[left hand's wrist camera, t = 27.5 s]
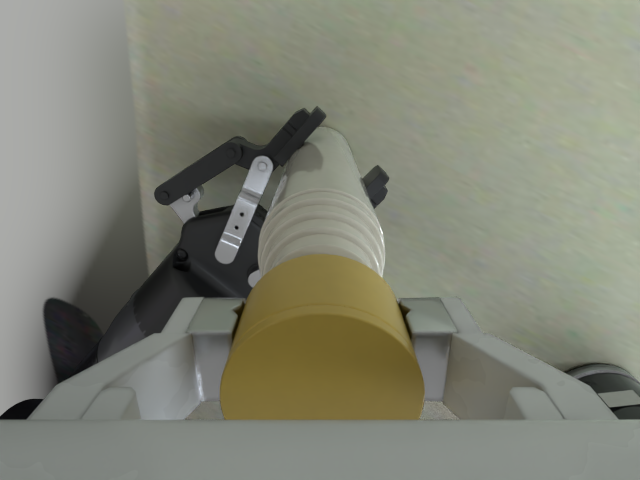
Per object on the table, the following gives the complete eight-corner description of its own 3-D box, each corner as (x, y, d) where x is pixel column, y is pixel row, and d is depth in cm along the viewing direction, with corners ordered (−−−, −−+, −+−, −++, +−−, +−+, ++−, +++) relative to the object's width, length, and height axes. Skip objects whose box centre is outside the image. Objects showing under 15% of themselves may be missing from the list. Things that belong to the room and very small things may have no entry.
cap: (357, 224, 9) (371, 277, 7) (424, 351, 10) (455, 433, 8) (212, 296, 10) (177, 367, 7) (291, 407, 11) (284, 497, 9)
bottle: (335, 115, 29) (378, 240, 7) (360, 170, 31) (459, 411, 9) (280, 143, 30) (171, 332, 8) (307, 196, 32) (278, 476, 10)
